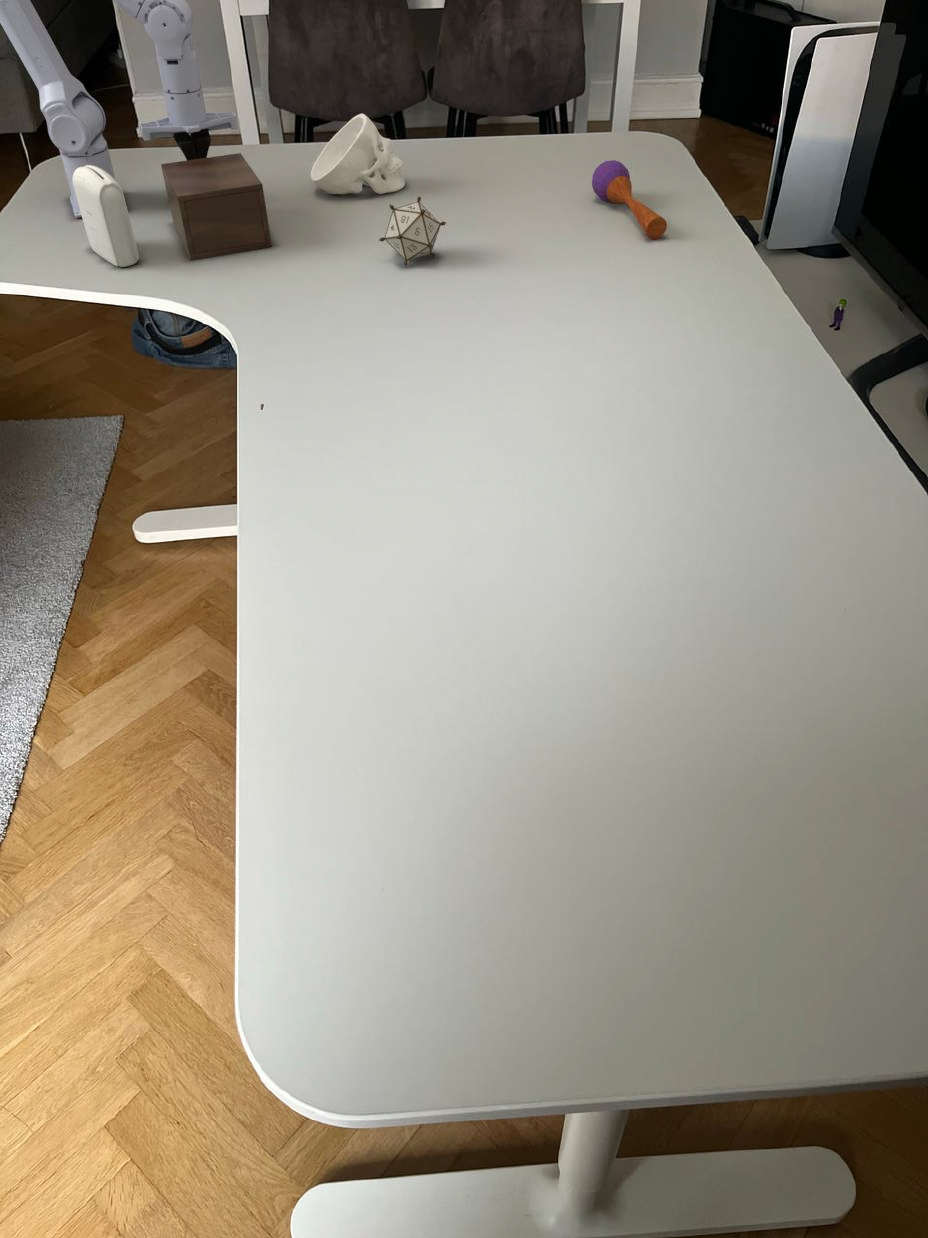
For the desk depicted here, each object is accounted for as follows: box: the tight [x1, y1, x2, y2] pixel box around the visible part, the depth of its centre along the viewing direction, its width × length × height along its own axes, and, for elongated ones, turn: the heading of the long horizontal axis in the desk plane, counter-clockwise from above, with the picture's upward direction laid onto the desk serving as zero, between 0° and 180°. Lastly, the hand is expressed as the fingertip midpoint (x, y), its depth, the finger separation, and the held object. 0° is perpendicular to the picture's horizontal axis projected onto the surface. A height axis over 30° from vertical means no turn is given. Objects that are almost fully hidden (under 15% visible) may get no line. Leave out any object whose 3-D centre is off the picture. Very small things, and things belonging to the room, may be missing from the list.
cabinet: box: [160, 152, 273, 261], centre depth 148 cm, size 15×12×9 cm
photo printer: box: [72, 165, 140, 268], centre depth 142 cm, size 10×4×12 cm, turn 39°
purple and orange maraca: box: [591, 159, 668, 240], centre depth 153 cm, size 6×6×20 cm
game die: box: [378, 195, 447, 268], centre depth 141 cm, size 9×8×10 cm
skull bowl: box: [309, 113, 406, 195], centre depth 163 cm, size 10×14×12 cm
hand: (199, 181), depth 159 cm, fingers closed, pressing on drawer
